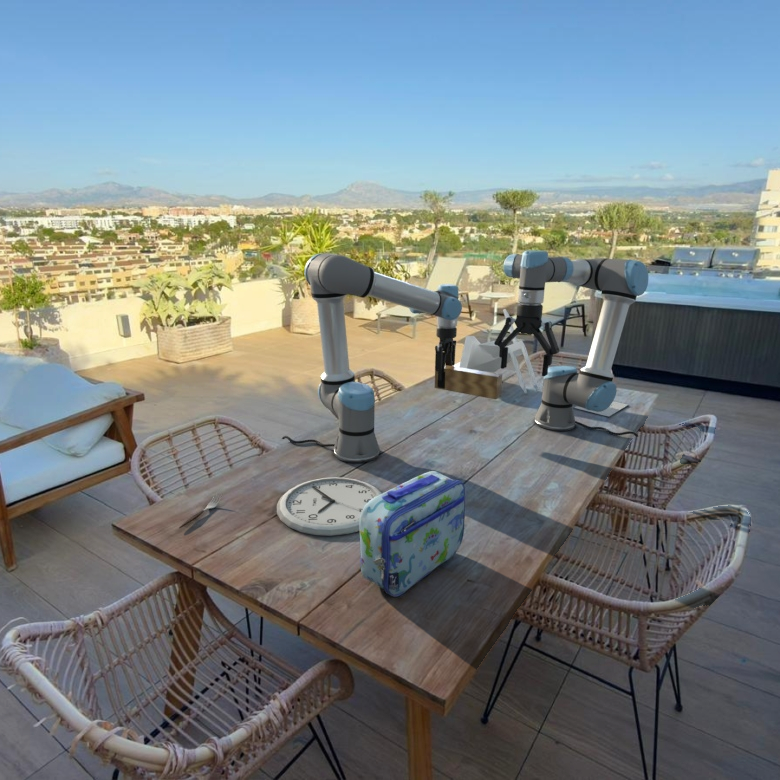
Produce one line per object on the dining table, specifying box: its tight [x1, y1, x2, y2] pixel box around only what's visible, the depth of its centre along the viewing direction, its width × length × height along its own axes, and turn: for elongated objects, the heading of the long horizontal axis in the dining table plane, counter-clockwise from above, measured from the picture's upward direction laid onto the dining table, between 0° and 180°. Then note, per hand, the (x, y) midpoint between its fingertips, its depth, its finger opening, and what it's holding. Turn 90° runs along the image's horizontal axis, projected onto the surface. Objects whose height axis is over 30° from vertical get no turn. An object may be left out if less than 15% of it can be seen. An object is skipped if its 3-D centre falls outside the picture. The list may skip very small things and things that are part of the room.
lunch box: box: [358, 470, 466, 598], centre depth 113 cm, size 26×11×21 cm, turn 135°
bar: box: [434, 364, 503, 400], centre depth 197 cm, size 25×5×8 cm, turn 57°
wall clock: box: [276, 476, 384, 537], centre depth 142 cm, size 30×2×30 cm
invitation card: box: [573, 400, 629, 418], centre depth 226 cm, size 21×1×15 cm
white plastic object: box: [454, 308, 540, 394], centre depth 253 cm, size 37×45×31 cm
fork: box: [178, 493, 223, 529], centre depth 137 cm, size 3×16×2 cm, turn 160°
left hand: (444, 385), depth 203 cm, fingers closed on bar, 5 cm apart
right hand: (523, 371), depth 164 cm, fingers open, 13 cm apart
